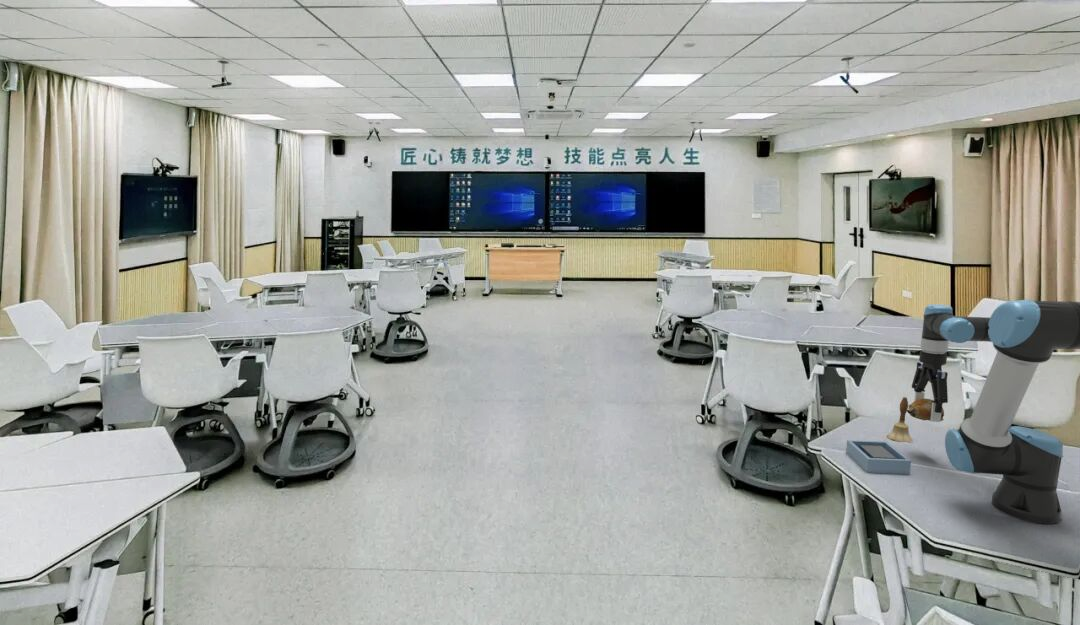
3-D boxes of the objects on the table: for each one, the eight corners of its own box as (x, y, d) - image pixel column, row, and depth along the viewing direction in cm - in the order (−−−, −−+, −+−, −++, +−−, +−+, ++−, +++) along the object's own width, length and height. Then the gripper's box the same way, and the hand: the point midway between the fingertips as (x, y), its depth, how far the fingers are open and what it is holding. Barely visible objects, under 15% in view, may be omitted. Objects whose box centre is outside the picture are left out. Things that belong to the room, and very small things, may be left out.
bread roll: (934, 433, 191) (949, 414, 188) (902, 414, 196) (917, 395, 192) (936, 424, 199) (951, 406, 195) (906, 407, 203) (919, 389, 200)
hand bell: (912, 437, 218) (917, 396, 216) (912, 444, 211) (917, 402, 209) (887, 432, 223) (891, 392, 220) (886, 439, 216) (890, 398, 213)
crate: (909, 477, 185) (911, 460, 184) (866, 475, 186) (868, 459, 185) (885, 456, 201) (886, 441, 200) (845, 455, 202) (847, 440, 201)
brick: (895, 469, 188) (896, 458, 187) (872, 468, 189) (873, 457, 188) (880, 457, 198) (881, 445, 197) (858, 456, 199) (859, 445, 198)
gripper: (966, 359, 181) (958, 428, 184) (927, 344, 203) (920, 405, 207) (941, 359, 182) (933, 427, 185) (904, 343, 204) (897, 404, 207)
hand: (926, 415), depth 196 cm, fingers closed on bread roll, 10 cm apart
